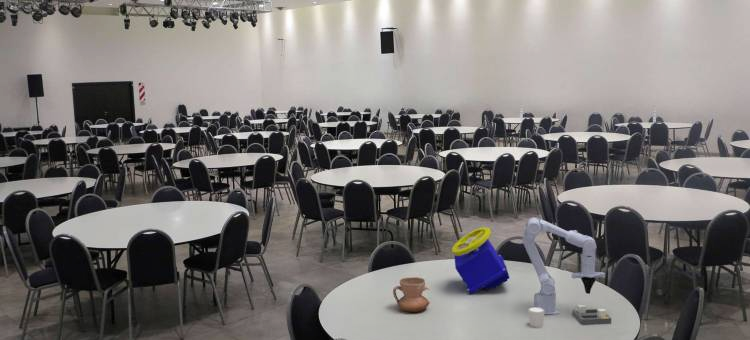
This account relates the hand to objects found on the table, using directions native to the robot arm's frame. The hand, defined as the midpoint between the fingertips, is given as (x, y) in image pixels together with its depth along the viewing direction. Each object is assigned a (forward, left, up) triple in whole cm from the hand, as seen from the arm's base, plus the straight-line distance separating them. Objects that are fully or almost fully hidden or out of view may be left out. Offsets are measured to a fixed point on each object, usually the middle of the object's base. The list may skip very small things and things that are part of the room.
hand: (587, 292), depth 279 cm
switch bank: (-1, -6, -10) cm, 12 cm away
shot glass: (-27, -10, -10) cm, 30 cm away
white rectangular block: (+3, -9, -9) cm, 13 cm away
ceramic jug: (-79, +16, -10) cm, 81 cm away
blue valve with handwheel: (-41, +39, -10) cm, 57 cm away
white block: (-4, -3, -9) cm, 10 cm away
